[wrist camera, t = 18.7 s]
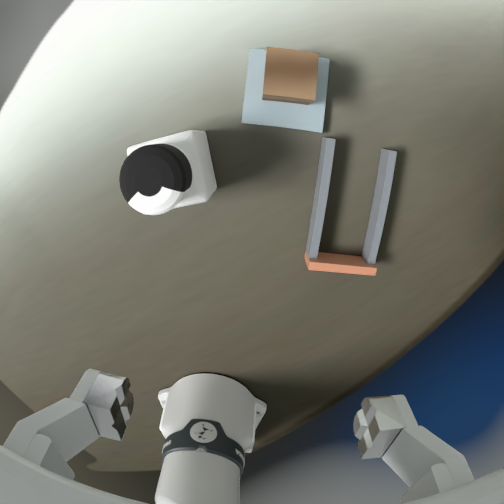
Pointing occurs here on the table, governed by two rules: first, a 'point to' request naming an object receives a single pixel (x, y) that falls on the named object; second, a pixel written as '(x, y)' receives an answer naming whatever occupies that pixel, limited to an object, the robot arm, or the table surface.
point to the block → (290, 76)
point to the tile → (282, 112)
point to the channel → (376, 221)
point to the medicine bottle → (168, 173)
